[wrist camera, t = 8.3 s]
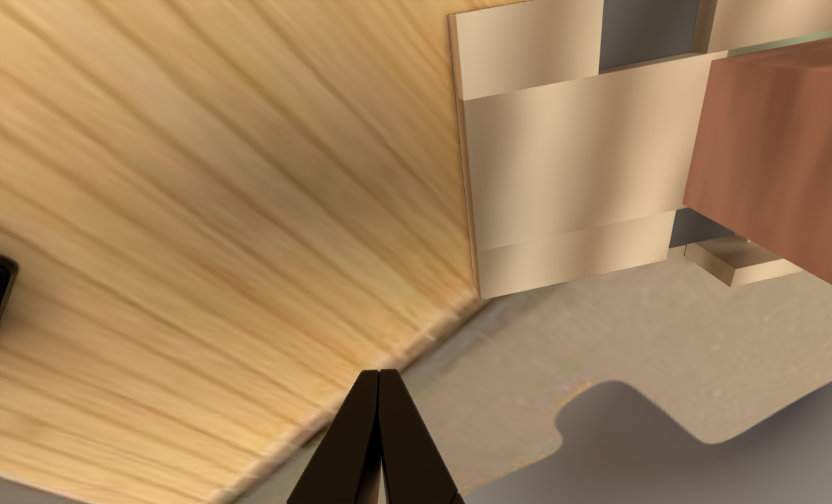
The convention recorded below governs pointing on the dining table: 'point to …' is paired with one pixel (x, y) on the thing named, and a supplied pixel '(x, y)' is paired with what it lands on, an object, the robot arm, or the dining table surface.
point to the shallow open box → (600, 132)
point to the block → (769, 152)
